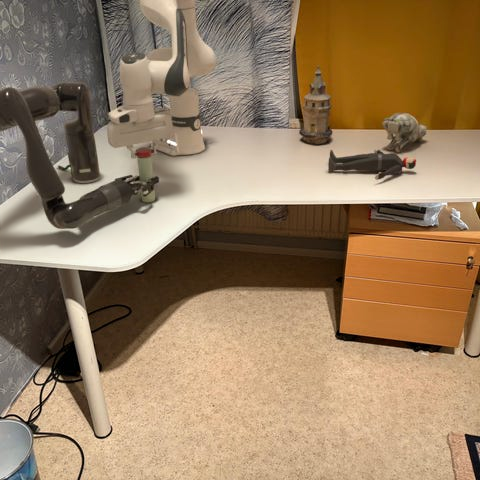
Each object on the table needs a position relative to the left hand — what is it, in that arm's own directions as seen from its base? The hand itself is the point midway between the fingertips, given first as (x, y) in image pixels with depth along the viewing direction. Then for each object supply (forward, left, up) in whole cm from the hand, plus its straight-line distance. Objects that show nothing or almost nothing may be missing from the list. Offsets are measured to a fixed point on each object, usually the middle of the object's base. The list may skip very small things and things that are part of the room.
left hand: (152, 177), depth 171 cm
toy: (+48, +61, -7) cm, 78 cm away
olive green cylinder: (0, -3, -7) cm, 7 cm away
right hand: (0, -3, +8) cm, 9 cm away
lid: (0, -3, +10) cm, 10 cm away
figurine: (+48, +91, -7) cm, 103 cm away
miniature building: (+15, +78, -7) cm, 80 cm away
